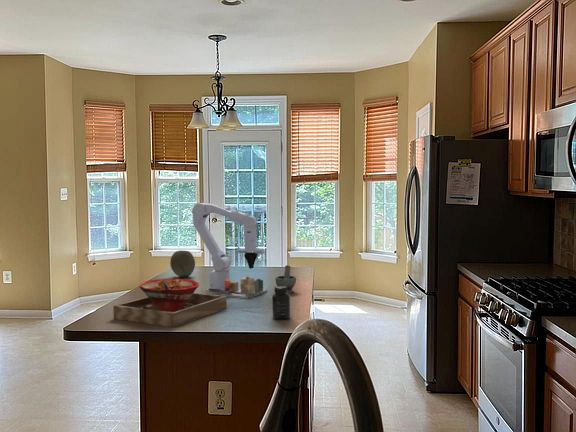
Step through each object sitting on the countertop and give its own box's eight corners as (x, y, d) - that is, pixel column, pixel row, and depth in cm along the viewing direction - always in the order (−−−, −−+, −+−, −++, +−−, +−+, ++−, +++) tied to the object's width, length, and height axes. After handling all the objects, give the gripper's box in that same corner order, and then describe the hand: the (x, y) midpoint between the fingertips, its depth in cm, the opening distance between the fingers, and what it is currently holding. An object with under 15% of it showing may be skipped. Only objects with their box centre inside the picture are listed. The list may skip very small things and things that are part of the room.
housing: (240, 290, 254) (240, 277, 254) (245, 288, 258) (245, 275, 258) (249, 291, 252) (249, 278, 251) (254, 289, 256) (254, 276, 255)
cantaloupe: (201, 276, 304) (200, 249, 303) (183, 280, 292) (182, 252, 291) (182, 274, 312) (181, 248, 311) (164, 277, 300) (164, 251, 299)
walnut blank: (225, 293, 255) (224, 282, 255) (228, 291, 259) (228, 281, 259) (235, 293, 254) (235, 283, 254) (238, 291, 258) (238, 281, 258)
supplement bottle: (271, 316, 208) (271, 285, 208) (289, 315, 209) (289, 284, 208) (272, 320, 202) (272, 288, 201) (291, 319, 202) (290, 288, 202)
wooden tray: (113, 318, 207) (113, 305, 207) (171, 301, 236) (170, 290, 236) (173, 327, 193) (173, 313, 193) (226, 308, 223) (226, 296, 222)
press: (234, 294, 251) (233, 279, 251) (247, 290, 262) (247, 275, 261) (254, 296, 246) (254, 281, 246) (267, 291, 257) (267, 277, 256)
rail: (220, 295, 248) (219, 290, 248) (223, 294, 251) (223, 289, 251) (248, 298, 241) (247, 293, 241) (251, 297, 244) (251, 292, 244)
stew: (188, 323, 199) (188, 280, 198) (125, 322, 201) (124, 280, 200) (205, 306, 227) (205, 268, 226) (149, 306, 229) (149, 268, 228)
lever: (222, 293, 248) (222, 280, 247) (225, 292, 250) (225, 279, 250) (229, 293, 246) (228, 281, 246) (232, 292, 248) (232, 280, 248)
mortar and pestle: (293, 294, 251) (293, 268, 250) (274, 293, 253) (273, 268, 252) (297, 289, 262) (297, 264, 262) (279, 288, 264) (278, 264, 263)
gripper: (233, 240, 262) (234, 268, 263) (259, 241, 255) (259, 270, 256) (241, 239, 268) (242, 266, 269) (266, 240, 261) (267, 268, 262)
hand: (251, 268), depth 263 cm, fingers closed
